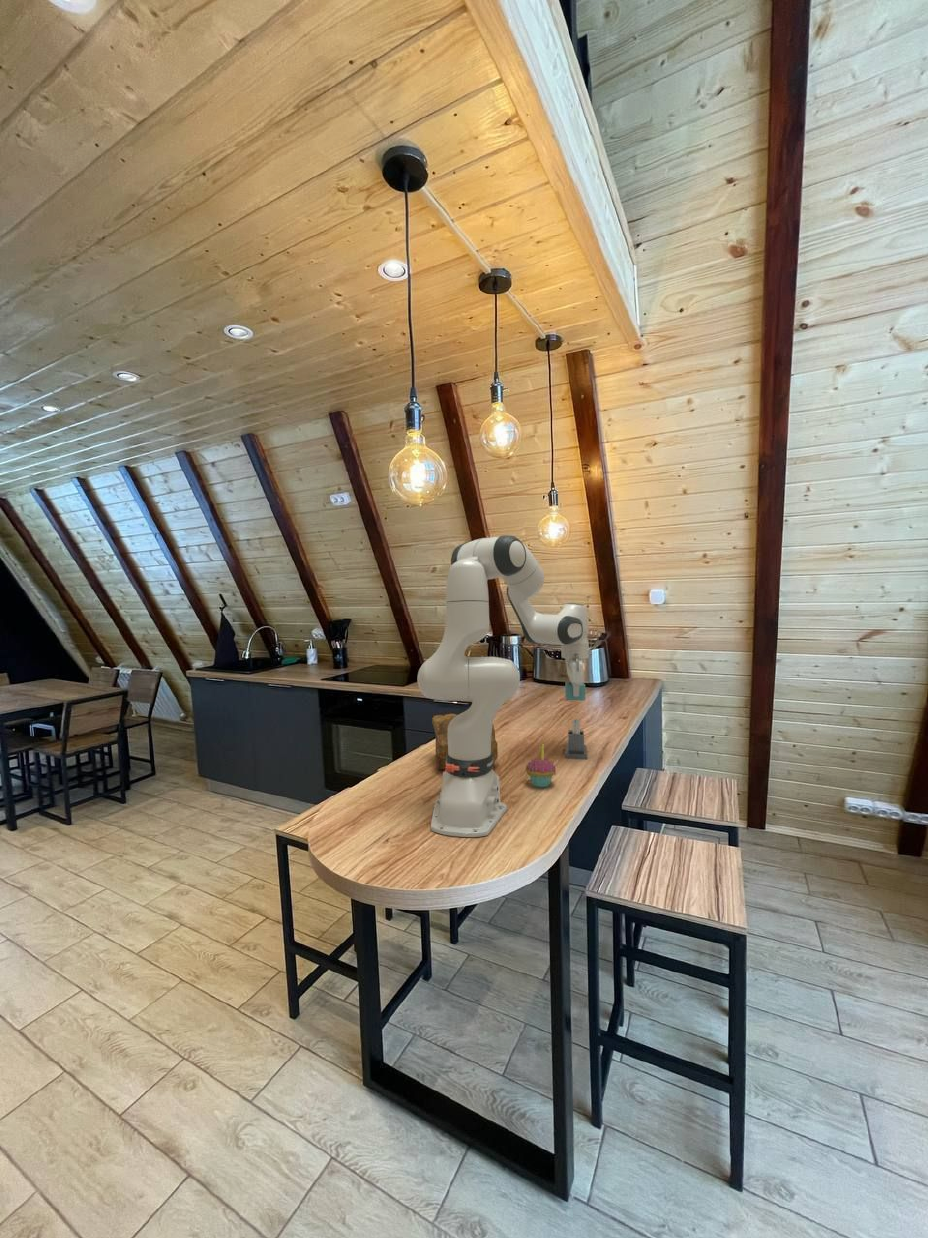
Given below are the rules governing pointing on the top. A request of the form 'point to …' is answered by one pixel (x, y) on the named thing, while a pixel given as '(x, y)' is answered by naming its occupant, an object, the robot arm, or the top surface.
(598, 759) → the top surface
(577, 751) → the grey pedestal stand
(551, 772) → the cupcake
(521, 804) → the top surface
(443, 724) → the rough brown rock
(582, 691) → the teal hollow box
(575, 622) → the robot arm
